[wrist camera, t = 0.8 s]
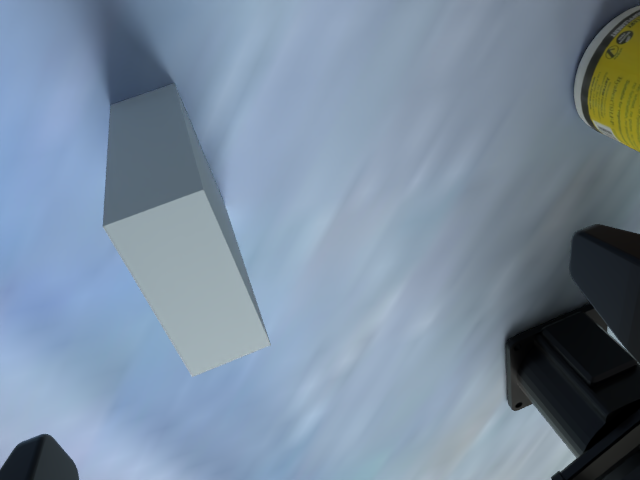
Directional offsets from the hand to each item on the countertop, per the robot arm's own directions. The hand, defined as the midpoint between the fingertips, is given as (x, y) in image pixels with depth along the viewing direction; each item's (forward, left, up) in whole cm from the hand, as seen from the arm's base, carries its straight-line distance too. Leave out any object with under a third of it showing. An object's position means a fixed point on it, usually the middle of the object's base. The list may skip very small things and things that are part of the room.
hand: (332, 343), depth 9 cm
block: (-1, +2, -12) cm, 13 cm away
